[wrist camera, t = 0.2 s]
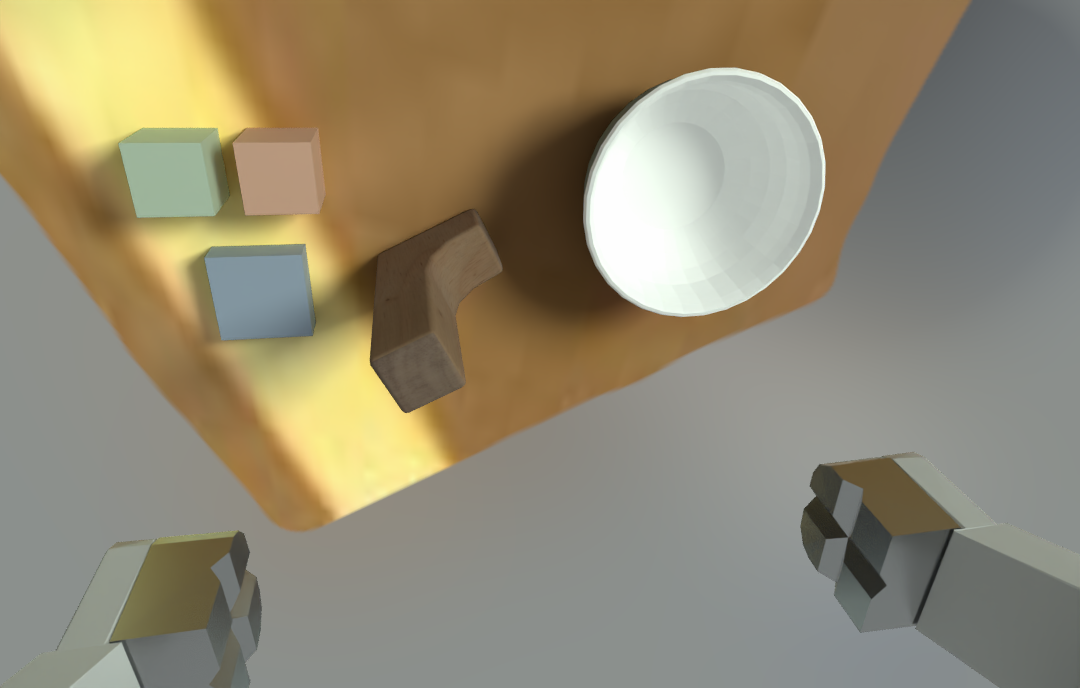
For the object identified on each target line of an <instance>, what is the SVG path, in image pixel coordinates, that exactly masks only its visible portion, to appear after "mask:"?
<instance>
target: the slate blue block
mask: <svg viewBox="0 0 1080 688" xmlns="http://www.w3.org/2000/svg"><path fill="white" fill-rule="evenodd" d="M204 259H205V264H206V269H207V274H208V278H209V283H210V288H211V293H212V298H213V302H214V307H215V312H216V317H217V321H218V326H219V331H220V336H221V340H238V339H258V338H278V337H298V336H313V333H314V328H315V324H316V320H315V313H314V305H313V298H312V291H311V283H310V276H309V268H308V261H307V253H306V246H305V244H292V245H257V246H221V247H211V249H210V250H209V252H208V253H207V255H206V256H205V258H204Z"/></svg>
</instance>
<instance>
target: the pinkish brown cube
mask: <svg viewBox="0 0 1080 688" xmlns="http://www.w3.org/2000/svg"><path fill="white" fill-rule="evenodd" d="M233 148H234V154H235V160H236V165H237V171H238V177H239V183H240V188H241V194H242V200H243V205H244V211H245V215H286V214H319V213H320V210H321V207H322V204H323V201H324V198H325V195H326V193H325V185H324V176H323V167H322V159H321V150H320V141H319V133H318V128H246V129H245V130H244V131H243V132H242V133H241V134H240V135H239V137H238V138H237V139H236V140H235V141H234V142H233Z"/></svg>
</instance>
